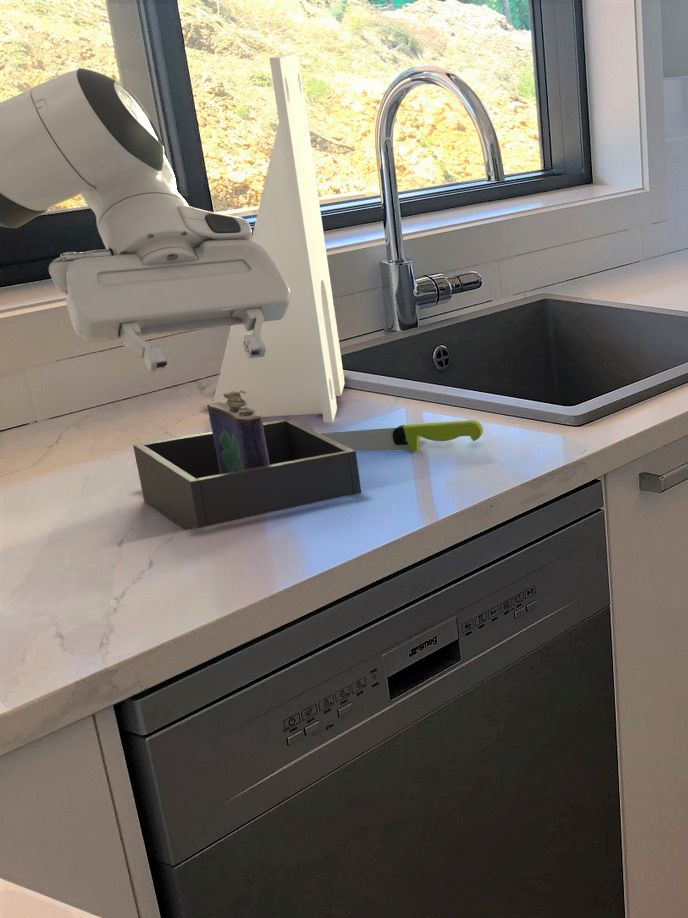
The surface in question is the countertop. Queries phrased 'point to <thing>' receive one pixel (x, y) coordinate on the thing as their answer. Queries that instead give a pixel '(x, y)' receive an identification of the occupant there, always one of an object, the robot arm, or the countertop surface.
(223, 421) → the flask
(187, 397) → the countertop surface
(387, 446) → the kitchen knife
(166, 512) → the open dark grey box
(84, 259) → the robot arm
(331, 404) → the white bracket plate
